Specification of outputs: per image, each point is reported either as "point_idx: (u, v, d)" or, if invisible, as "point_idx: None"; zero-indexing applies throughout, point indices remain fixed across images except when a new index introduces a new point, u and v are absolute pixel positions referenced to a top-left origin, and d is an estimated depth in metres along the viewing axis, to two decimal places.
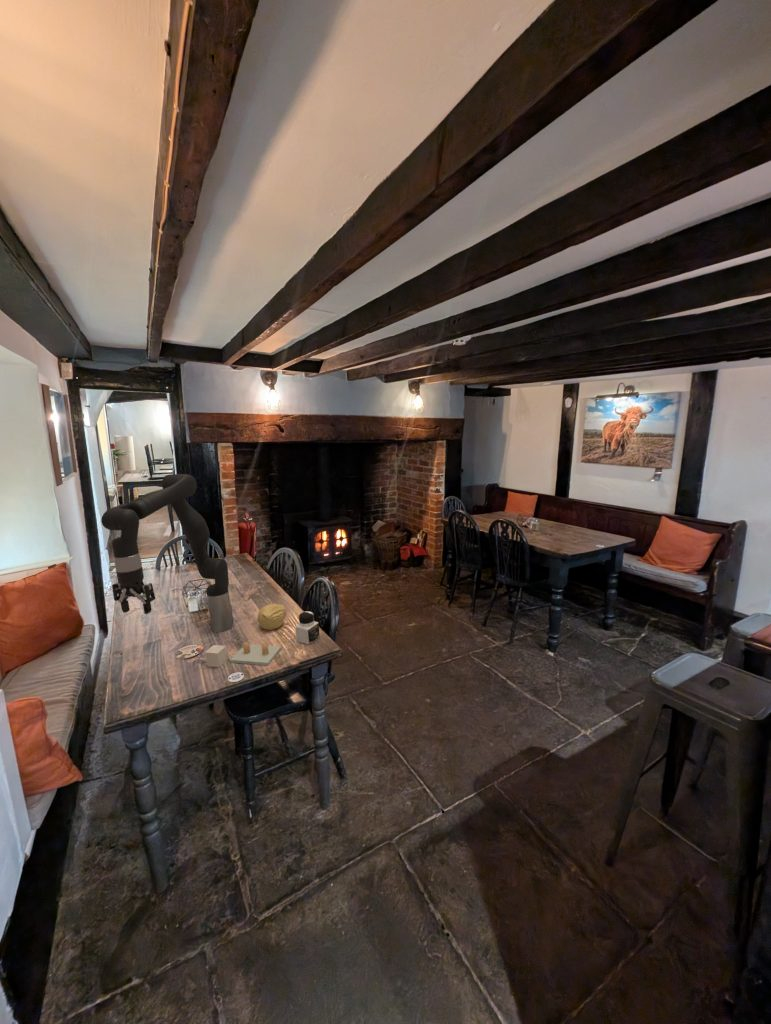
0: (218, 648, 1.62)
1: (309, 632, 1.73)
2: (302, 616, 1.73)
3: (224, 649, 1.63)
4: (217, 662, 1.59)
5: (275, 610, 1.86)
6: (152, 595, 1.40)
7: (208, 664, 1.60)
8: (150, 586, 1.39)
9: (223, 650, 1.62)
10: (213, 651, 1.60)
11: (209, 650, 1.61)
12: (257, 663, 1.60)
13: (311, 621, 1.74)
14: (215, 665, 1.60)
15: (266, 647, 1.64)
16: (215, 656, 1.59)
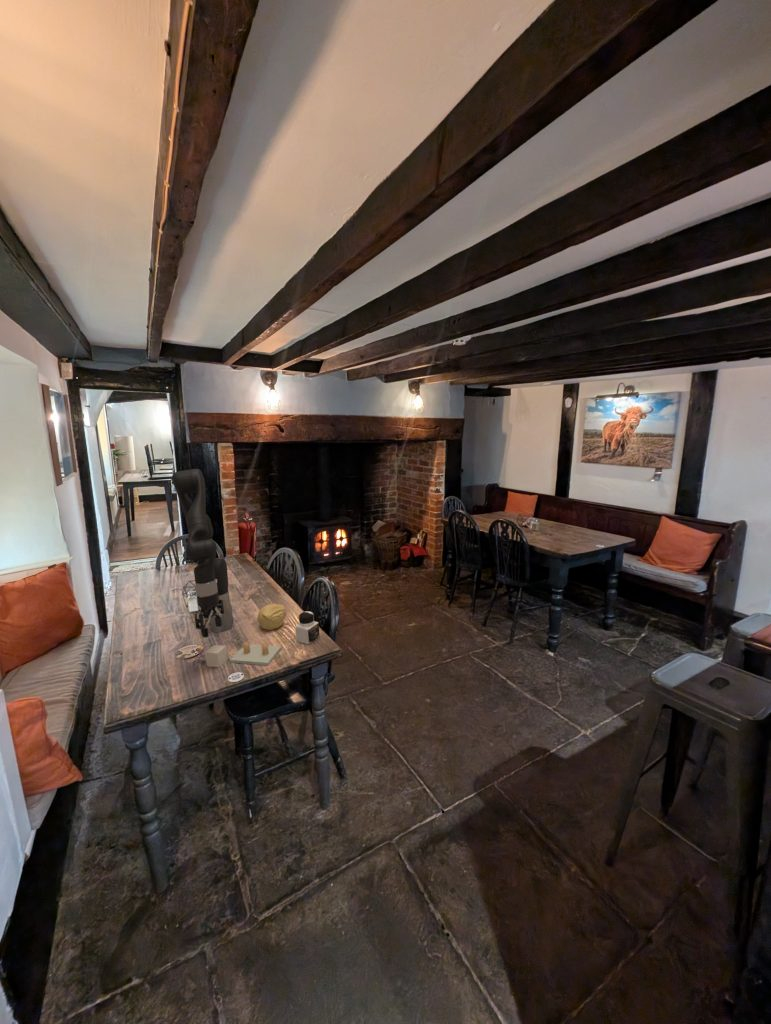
0: (218, 648, 1.62)
1: (309, 632, 1.73)
2: (302, 616, 1.73)
3: (224, 649, 1.63)
4: (217, 662, 1.59)
5: (275, 610, 1.86)
6: (218, 609, 1.65)
7: (208, 664, 1.60)
8: None
9: (223, 650, 1.62)
10: (213, 651, 1.60)
11: (209, 650, 1.61)
12: (257, 663, 1.60)
13: (311, 621, 1.74)
14: (215, 665, 1.60)
15: (266, 647, 1.64)
16: (215, 656, 1.59)
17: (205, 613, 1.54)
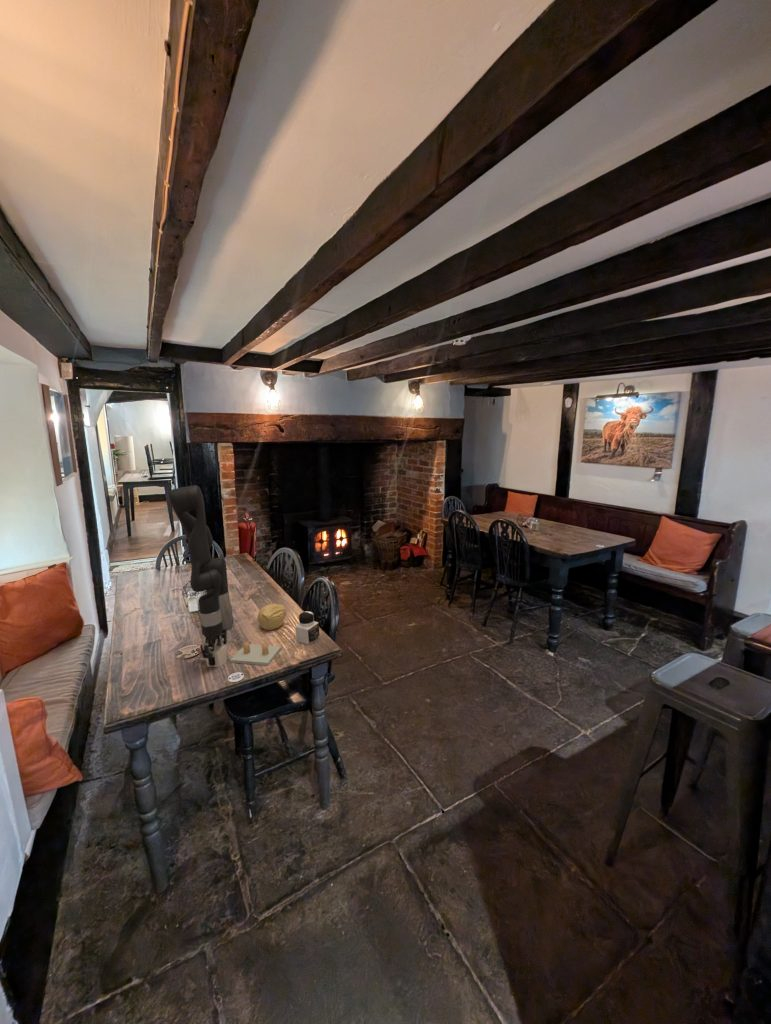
0: (218, 648, 1.62)
1: (309, 632, 1.73)
2: (302, 616, 1.73)
3: (224, 649, 1.63)
4: (217, 662, 1.59)
5: (275, 610, 1.86)
6: None
7: (208, 664, 1.60)
8: None
9: (223, 650, 1.62)
10: None
11: None
12: (257, 663, 1.60)
13: (311, 621, 1.74)
14: (215, 665, 1.60)
15: (266, 647, 1.64)
16: (215, 656, 1.59)
17: (210, 644, 1.57)
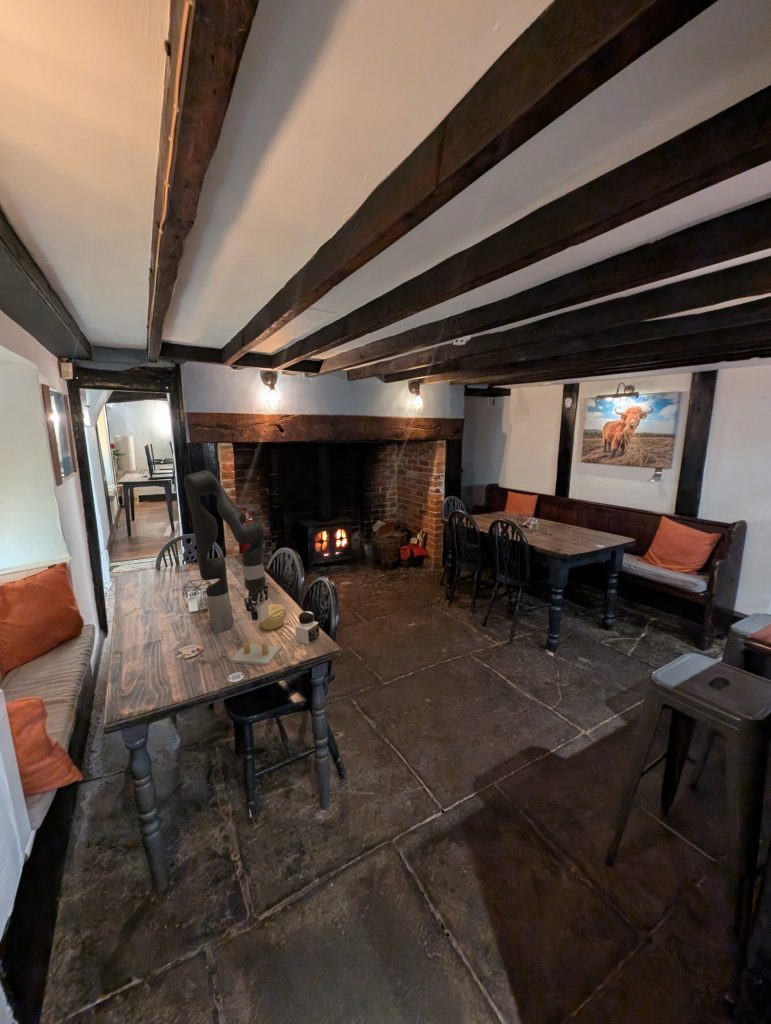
0: (260, 603, 1.61)
1: (309, 632, 1.73)
2: (302, 616, 1.73)
3: (266, 604, 1.62)
4: (260, 616, 1.58)
5: (275, 610, 1.86)
6: None
7: (250, 619, 1.59)
8: None
9: (265, 605, 1.61)
10: None
11: None
12: (257, 663, 1.60)
13: (311, 621, 1.74)
14: (258, 620, 1.59)
15: (266, 647, 1.64)
16: (258, 610, 1.58)
17: (253, 597, 1.56)
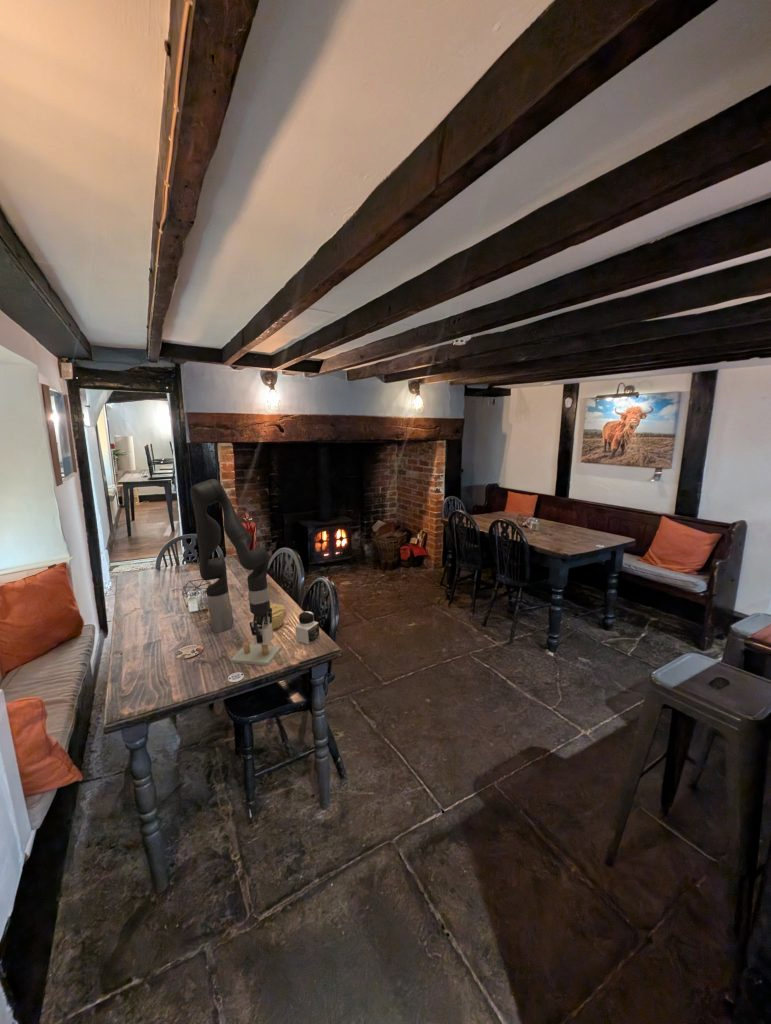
0: (265, 626, 1.64)
1: (309, 632, 1.73)
2: (302, 616, 1.73)
3: (271, 627, 1.64)
4: (265, 640, 1.61)
5: (275, 610, 1.86)
6: None
7: (255, 642, 1.62)
8: None
9: (270, 628, 1.64)
10: None
11: None
12: (257, 663, 1.60)
13: (311, 621, 1.74)
14: (262, 643, 1.61)
15: (266, 647, 1.64)
16: (263, 634, 1.61)
17: (258, 621, 1.58)
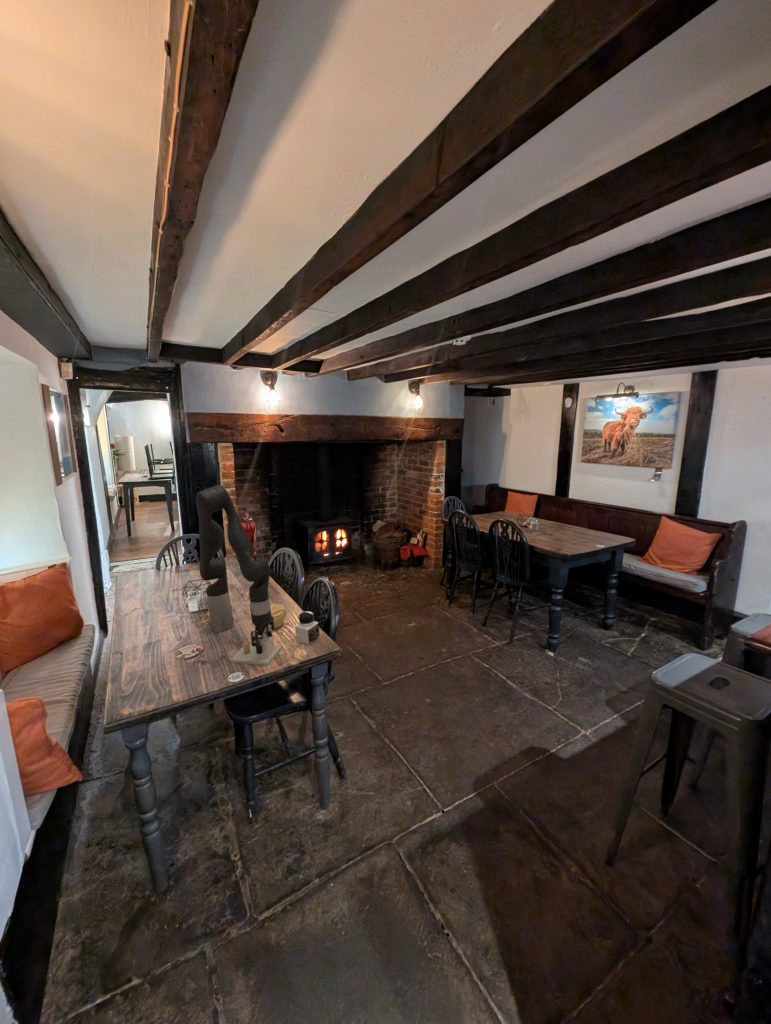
0: (266, 639, 1.65)
1: (309, 632, 1.73)
2: (302, 616, 1.73)
3: (272, 640, 1.66)
4: (266, 652, 1.62)
5: (275, 610, 1.86)
6: None
7: (257, 654, 1.63)
8: None
9: (271, 641, 1.65)
10: (262, 642, 1.63)
11: None
12: (257, 663, 1.60)
13: (311, 621, 1.74)
14: (264, 655, 1.63)
15: None
16: (265, 647, 1.62)
17: (260, 631, 1.59)
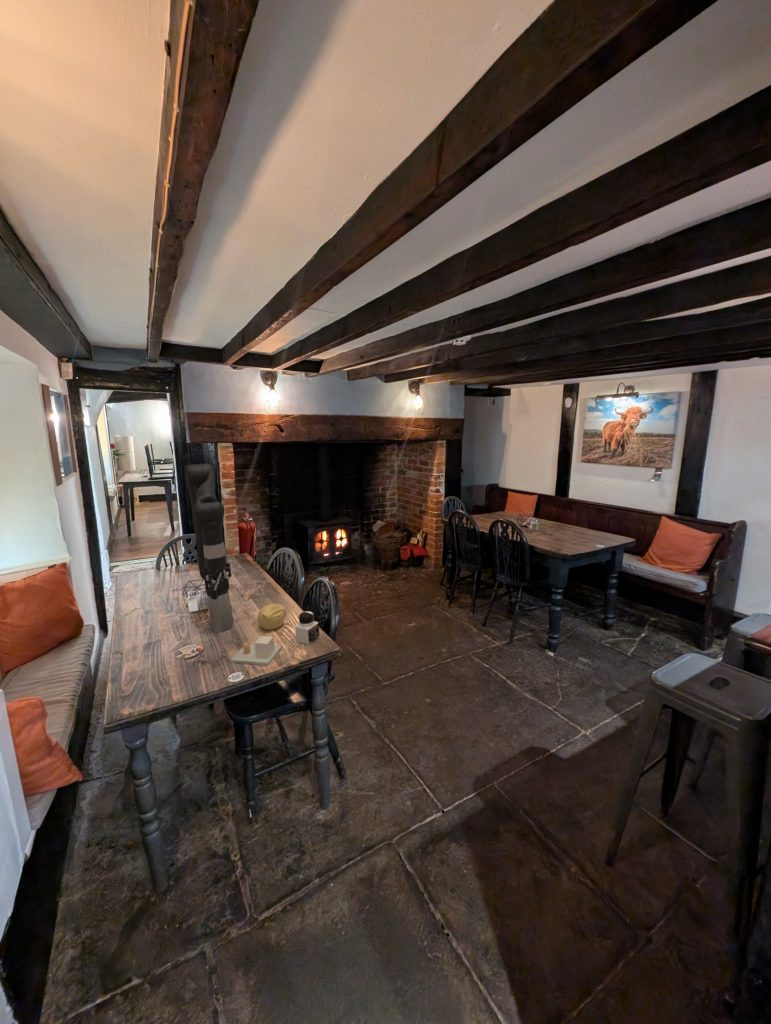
0: (266, 639, 1.65)
1: (309, 632, 1.73)
2: (302, 616, 1.73)
3: (272, 640, 1.66)
4: (266, 652, 1.62)
5: (275, 610, 1.86)
6: (226, 572, 1.65)
7: (257, 654, 1.63)
8: None
9: (271, 641, 1.65)
10: (262, 642, 1.63)
11: (258, 641, 1.64)
12: (257, 663, 1.60)
13: (311, 621, 1.74)
14: (264, 655, 1.63)
15: None
16: (265, 647, 1.62)
17: (214, 575, 1.54)
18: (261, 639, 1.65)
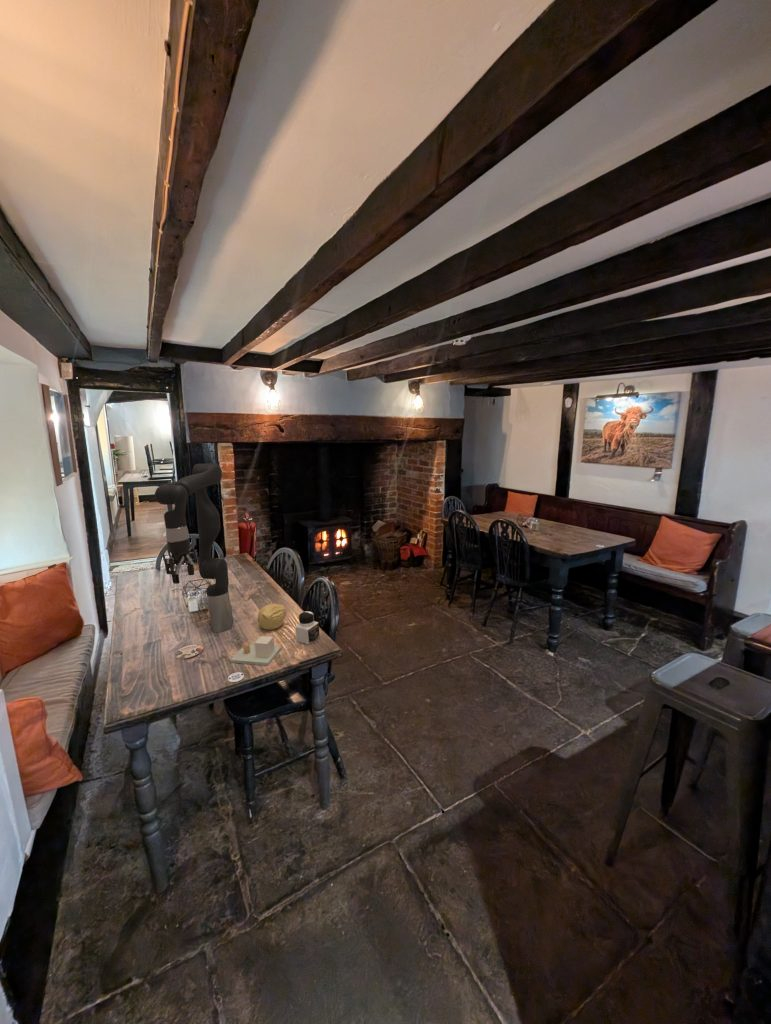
0: (266, 639, 1.65)
1: (309, 632, 1.73)
2: (302, 616, 1.73)
3: (272, 640, 1.66)
4: (266, 652, 1.62)
5: (275, 610, 1.86)
6: (191, 558, 1.64)
7: (257, 654, 1.63)
8: None
9: (271, 641, 1.65)
10: (262, 642, 1.63)
11: (258, 641, 1.64)
12: (257, 663, 1.60)
13: (311, 621, 1.74)
14: (264, 655, 1.63)
15: None
16: (265, 647, 1.62)
17: (176, 559, 1.53)
18: (261, 639, 1.65)
